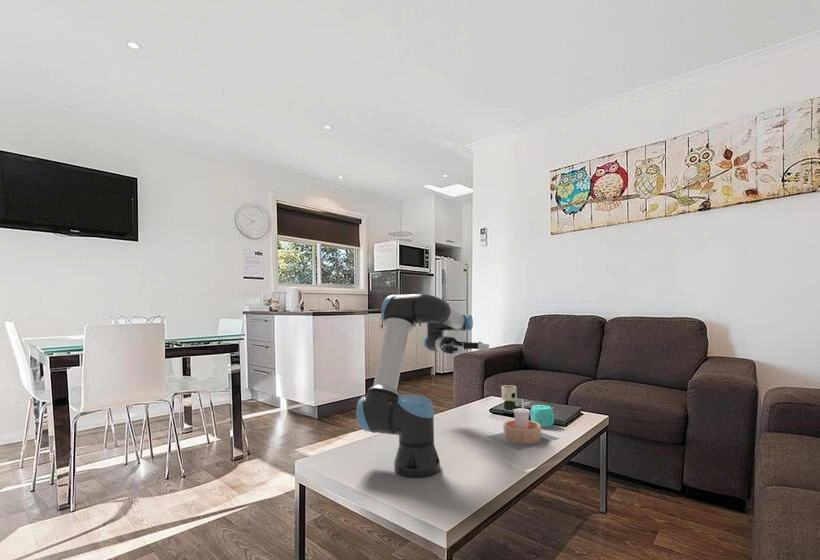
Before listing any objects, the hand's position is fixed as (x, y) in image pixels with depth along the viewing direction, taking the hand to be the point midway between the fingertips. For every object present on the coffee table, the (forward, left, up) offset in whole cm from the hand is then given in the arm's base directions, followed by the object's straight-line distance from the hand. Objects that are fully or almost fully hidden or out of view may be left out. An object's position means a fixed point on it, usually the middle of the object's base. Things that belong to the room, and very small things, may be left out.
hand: (476, 348), depth 174 cm
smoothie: (+10, -15, -34) cm, 38 cm away
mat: (+10, -15, -35) cm, 39 cm away
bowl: (+10, -15, -34) cm, 39 cm away
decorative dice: (+30, -7, -35) cm, 47 cm away
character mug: (+32, +15, -35) cm, 50 cm away
